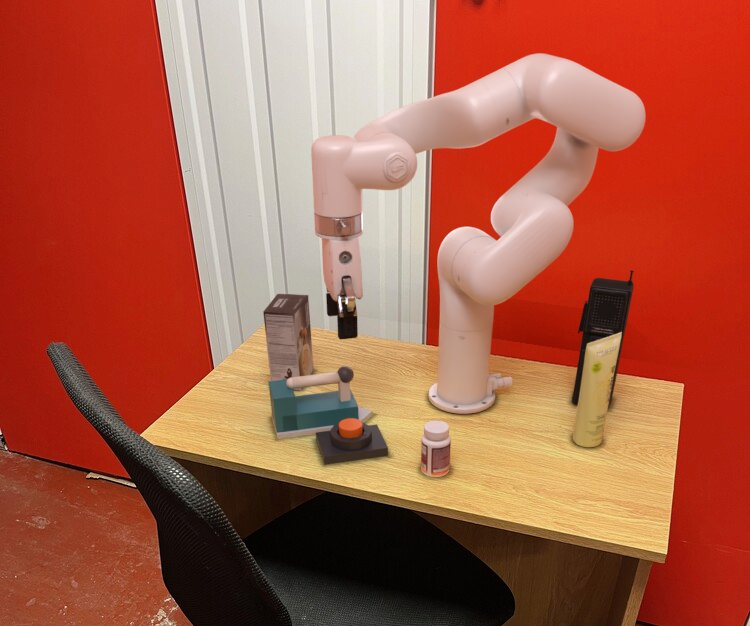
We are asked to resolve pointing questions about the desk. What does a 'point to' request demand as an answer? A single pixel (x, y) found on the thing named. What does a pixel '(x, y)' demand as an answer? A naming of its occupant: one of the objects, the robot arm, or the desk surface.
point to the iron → (313, 404)
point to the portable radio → (603, 320)
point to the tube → (595, 390)
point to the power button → (350, 428)
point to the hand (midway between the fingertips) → (341, 326)
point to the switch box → (351, 445)
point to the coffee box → (288, 337)
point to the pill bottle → (435, 449)
